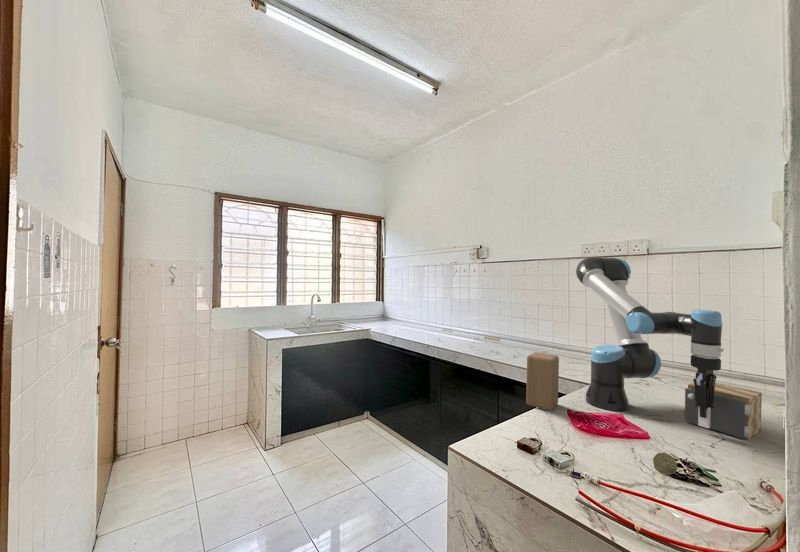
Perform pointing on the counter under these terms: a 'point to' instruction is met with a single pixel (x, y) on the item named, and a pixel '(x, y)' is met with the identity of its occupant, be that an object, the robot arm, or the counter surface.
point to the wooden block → (542, 380)
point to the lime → (665, 463)
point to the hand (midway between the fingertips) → (704, 426)
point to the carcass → (746, 396)
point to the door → (721, 414)
